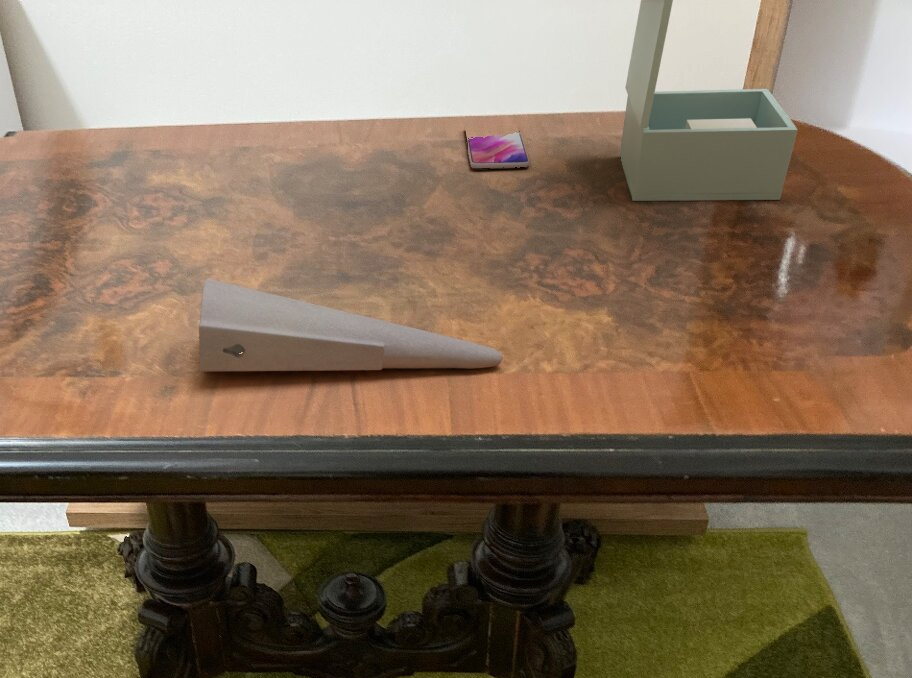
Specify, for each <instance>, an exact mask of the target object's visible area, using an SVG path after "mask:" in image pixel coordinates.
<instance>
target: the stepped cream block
mask: <svg viewBox="0 0 912 678" xmlns="http://www.w3.org/2000/svg"><path fill="white" fill-rule="evenodd" d="M720 128H757V126H756V125H755V124H754V123H753V121H752V120H751V118H747V119H700V120H687V121H686V126H685V129H720Z"/></svg>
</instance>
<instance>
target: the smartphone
mask: <svg viewBox="0 0 912 678" xmlns="http://www.w3.org/2000/svg"><path fill="white" fill-rule="evenodd" d="M471 138H473V137H471ZM468 139H469V138H468ZM467 155H469V156H468V159H469V165H471V166H470V167H471V168H472V167H473V168H490V169H521V168H520V167H525V168H527V167H529V166H530V160H529V156H528V153H527V150H526V146H525V143H524V139H523V136H522V133H521V134H519V133H516V132H515V133H513V134H508V135H506V136H503V135H502V136H501V135H497V136H495V137H494V135H493V136H487V137H485V138H483V137H475V138H473V139H469V140H468V150H467ZM503 167H504V168H503ZM515 167H517V168H515ZM473 168H472V169H473Z"/></svg>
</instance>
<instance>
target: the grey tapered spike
mask: <svg viewBox="0 0 912 678" xmlns="http://www.w3.org/2000/svg"><path fill="white" fill-rule="evenodd" d="M198 346H199V347H198V349H199V350H198V351H199V352H198V353H199V370H200V371H201V372H303V371H305V372H307V371H309V372H310V371H311V372H312V371H314V372H315V371H319V372H320V371H321V372H322V371H382V369H468V370H469V369H485V368H492V367H496V366H499V365H501V363H502V361H503V355H502V353H501V352H500V351H499V350H497V349H496V348H493V347H489V346H486V345H483V344H481V343H480V344H479V343H477V342H472V341H468V340H464V339H460V338H457V337H452V336H449V335H444V334H440V333H435V332H432V331H429V330H424V329H419V328H415V327H411V326H407V325H404V324H403V325H402V324H399V323H396V322H395V323H394V322H391V321H386V320H382V319H378V318H374V317H369V316H366V315H361V314H357V313H352V312H349V311H344V310H340V309H336V308H332V307H329V306H324V305H319V304H315V303H311V302H307V301H303V300H298V299H294V298H292V297H291V298H290V297H286V296H282V295H278V294H273V293H269V292H265V291H262V290H258V289H254V288H250V287H246V286H241V285H239V284H233V283H229V282H225V281H221V280H217V279H212V278H209V277H208V278H206V279H205V280H204V284H203V288H202V294H201V302H200V314H199V325H198ZM241 352H243V353H242V354H239V353H241Z"/></svg>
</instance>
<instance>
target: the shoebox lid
mask: <svg viewBox="0 0 912 678" xmlns="http://www.w3.org/2000/svg"><path fill="white" fill-rule="evenodd" d="M673 3H674V0H640V3H639V10H638V15H637V21H636V26H635V31H634V38H633V42H632V47H631V48H632V49H631V53H630V54H631V55H630V59H629V65H628V70H627V76H626V81H625V91H626V94H627V97H628V96H629V99H630V102H631V104H632V107H633V110H634V113H635V115H636V118H637V121H638V123H639V126H640V128H648V123H649V118H650V113H651V108H652V103H653V98H654V93H655V92H656V88H657V82H658V78H659V73H660V67H661V63H662V58H663V53H664V47H665V43H666V38H667V32H668V27H669V24H670V23H669V22H670V18H671V12H672V7H673Z"/></svg>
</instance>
